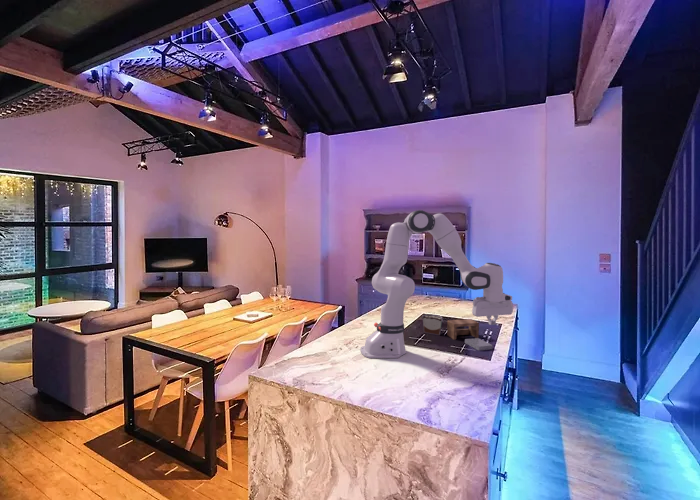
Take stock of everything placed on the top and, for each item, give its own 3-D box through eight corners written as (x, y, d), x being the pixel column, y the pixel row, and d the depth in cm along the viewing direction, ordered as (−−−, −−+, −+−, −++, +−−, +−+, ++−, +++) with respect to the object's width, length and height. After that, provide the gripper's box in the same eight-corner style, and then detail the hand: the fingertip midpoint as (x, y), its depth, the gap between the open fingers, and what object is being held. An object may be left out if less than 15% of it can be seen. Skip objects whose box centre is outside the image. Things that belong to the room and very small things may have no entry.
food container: (445, 332, 211) (446, 316, 210) (442, 335, 206) (442, 318, 205) (425, 329, 217) (425, 313, 217) (421, 332, 212) (421, 315, 211)
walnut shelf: (453, 339, 199) (454, 324, 198) (446, 335, 207) (447, 320, 206) (478, 337, 202) (479, 322, 201) (470, 333, 210) (471, 319, 209)
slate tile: (478, 351, 182) (478, 346, 182) (464, 343, 194) (464, 339, 193) (492, 350, 184) (492, 345, 184) (477, 342, 196) (477, 338, 196)
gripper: (477, 298, 171) (476, 327, 172) (515, 296, 175) (514, 324, 176) (469, 296, 177) (469, 323, 178) (507, 294, 181) (506, 321, 182)
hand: (492, 324), depth 177 cm, fingers closed
